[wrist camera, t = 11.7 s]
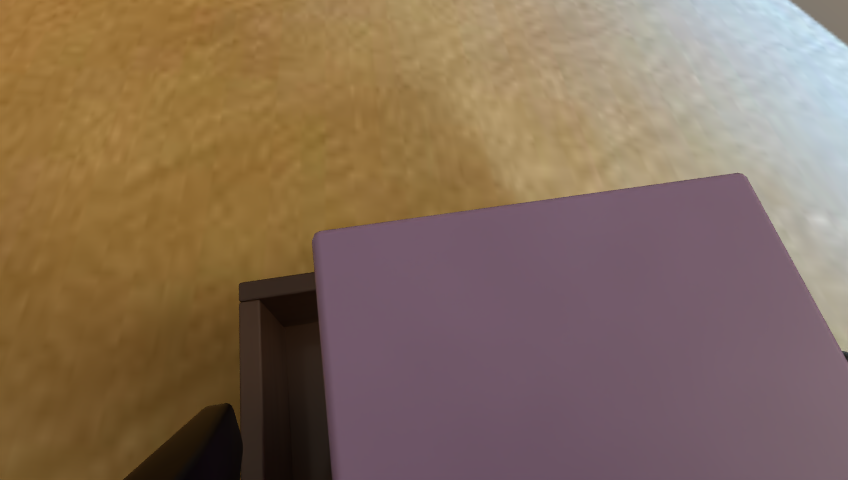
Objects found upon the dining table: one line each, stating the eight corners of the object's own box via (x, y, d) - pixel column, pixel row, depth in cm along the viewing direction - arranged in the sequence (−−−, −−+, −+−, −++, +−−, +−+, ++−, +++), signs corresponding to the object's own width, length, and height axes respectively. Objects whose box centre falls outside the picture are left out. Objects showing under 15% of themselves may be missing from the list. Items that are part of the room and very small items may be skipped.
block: (536, 519, 14) (1065, 747, 3) (398, 549, 14) (370, 961, 2) (502, 378, 16) (746, 167, 5) (379, 400, 16) (309, 228, 4)
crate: (679, 629, 14) (771, 684, 10) (287, 725, 13) (242, 825, 9) (564, 272, 18) (601, 229, 15) (271, 318, 17) (238, 282, 14)
